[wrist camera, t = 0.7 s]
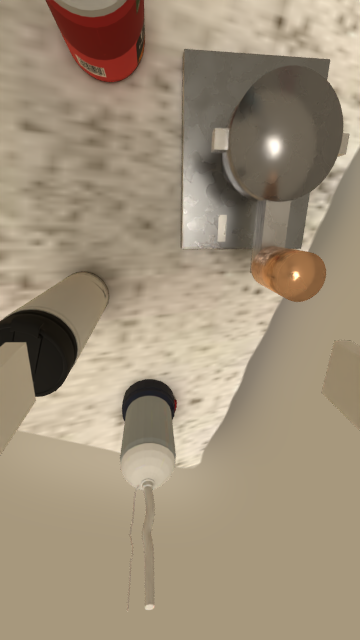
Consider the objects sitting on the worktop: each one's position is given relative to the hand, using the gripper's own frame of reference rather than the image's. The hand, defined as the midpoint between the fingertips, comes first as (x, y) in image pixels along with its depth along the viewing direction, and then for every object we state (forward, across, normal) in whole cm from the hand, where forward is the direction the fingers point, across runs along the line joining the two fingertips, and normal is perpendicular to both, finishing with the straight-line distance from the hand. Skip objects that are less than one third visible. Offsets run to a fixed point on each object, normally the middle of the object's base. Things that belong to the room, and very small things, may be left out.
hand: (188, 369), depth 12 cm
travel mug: (+27, -10, -4) cm, 29 cm away
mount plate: (+27, +10, +13) cm, 31 cm away
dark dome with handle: (+19, +10, +9) cm, 23 cm away
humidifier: (+27, -2, -21) cm, 34 cm away
